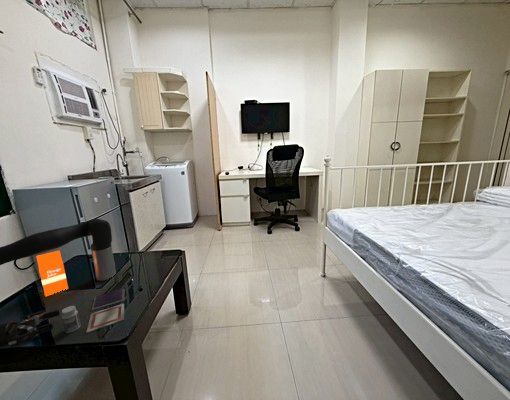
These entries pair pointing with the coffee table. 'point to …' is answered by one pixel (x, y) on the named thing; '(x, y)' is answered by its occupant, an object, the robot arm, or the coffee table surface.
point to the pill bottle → (70, 319)
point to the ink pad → (108, 299)
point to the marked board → (105, 317)
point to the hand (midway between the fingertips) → (56, 318)
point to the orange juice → (52, 272)
